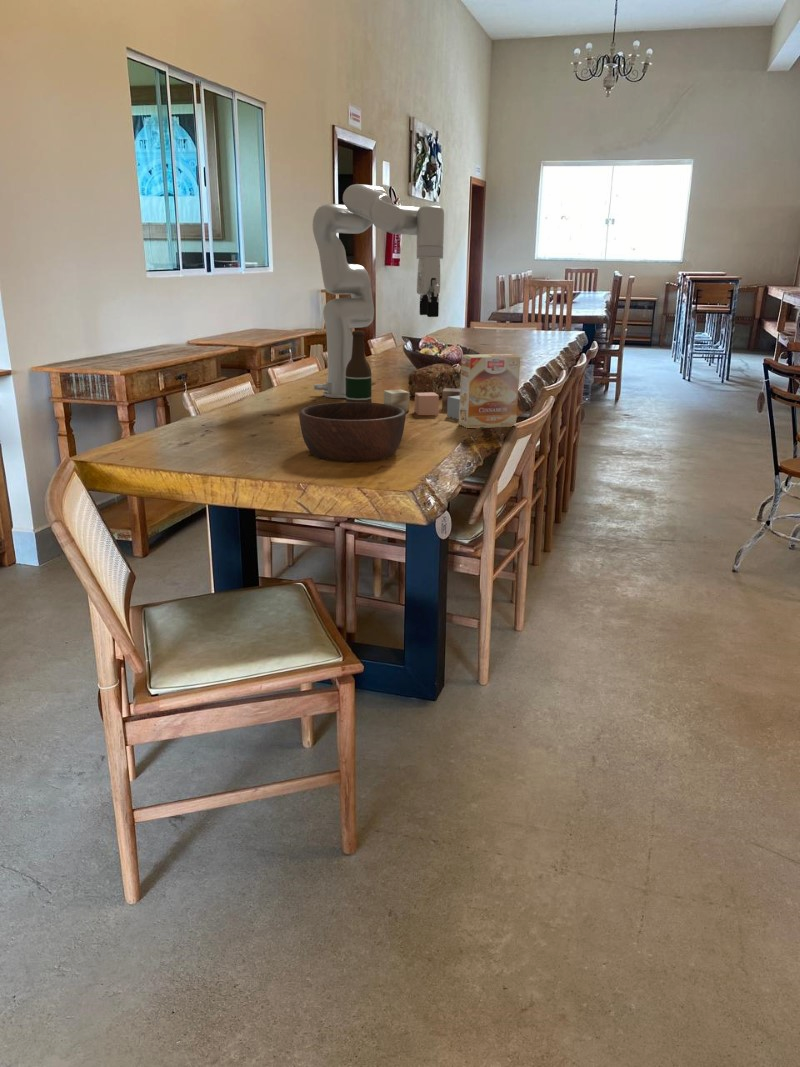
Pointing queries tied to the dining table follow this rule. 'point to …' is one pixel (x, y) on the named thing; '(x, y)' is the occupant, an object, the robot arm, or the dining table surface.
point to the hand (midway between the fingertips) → (428, 315)
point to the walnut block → (448, 393)
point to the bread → (433, 379)
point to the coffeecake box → (489, 390)
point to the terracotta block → (426, 403)
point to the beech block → (397, 398)
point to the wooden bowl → (352, 430)
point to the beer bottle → (358, 372)
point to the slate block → (453, 406)
